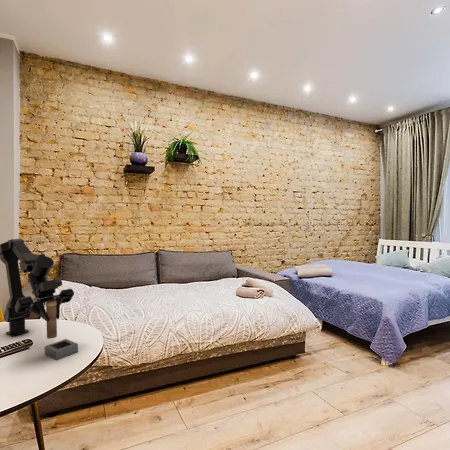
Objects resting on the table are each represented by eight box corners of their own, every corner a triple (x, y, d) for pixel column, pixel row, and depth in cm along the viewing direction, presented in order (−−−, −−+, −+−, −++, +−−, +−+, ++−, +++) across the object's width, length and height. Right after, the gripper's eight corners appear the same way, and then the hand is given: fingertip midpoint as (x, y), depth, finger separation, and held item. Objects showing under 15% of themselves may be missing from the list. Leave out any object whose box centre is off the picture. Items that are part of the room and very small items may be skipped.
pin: (44, 337, 112) (43, 302, 112) (52, 334, 115) (51, 299, 115) (51, 339, 111) (50, 303, 110) (59, 335, 114) (58, 300, 114)
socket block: (44, 354, 115) (44, 346, 115) (66, 346, 121) (65, 338, 121) (56, 360, 110) (56, 351, 110) (77, 351, 117) (77, 343, 117)
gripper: (16, 275, 107) (30, 313, 101) (71, 267, 122) (86, 301, 116) (9, 294, 113) (21, 331, 106) (62, 284, 127) (76, 317, 121)
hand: (53, 319), depth 112 cm, fingers closed on pin, 3 cm apart
